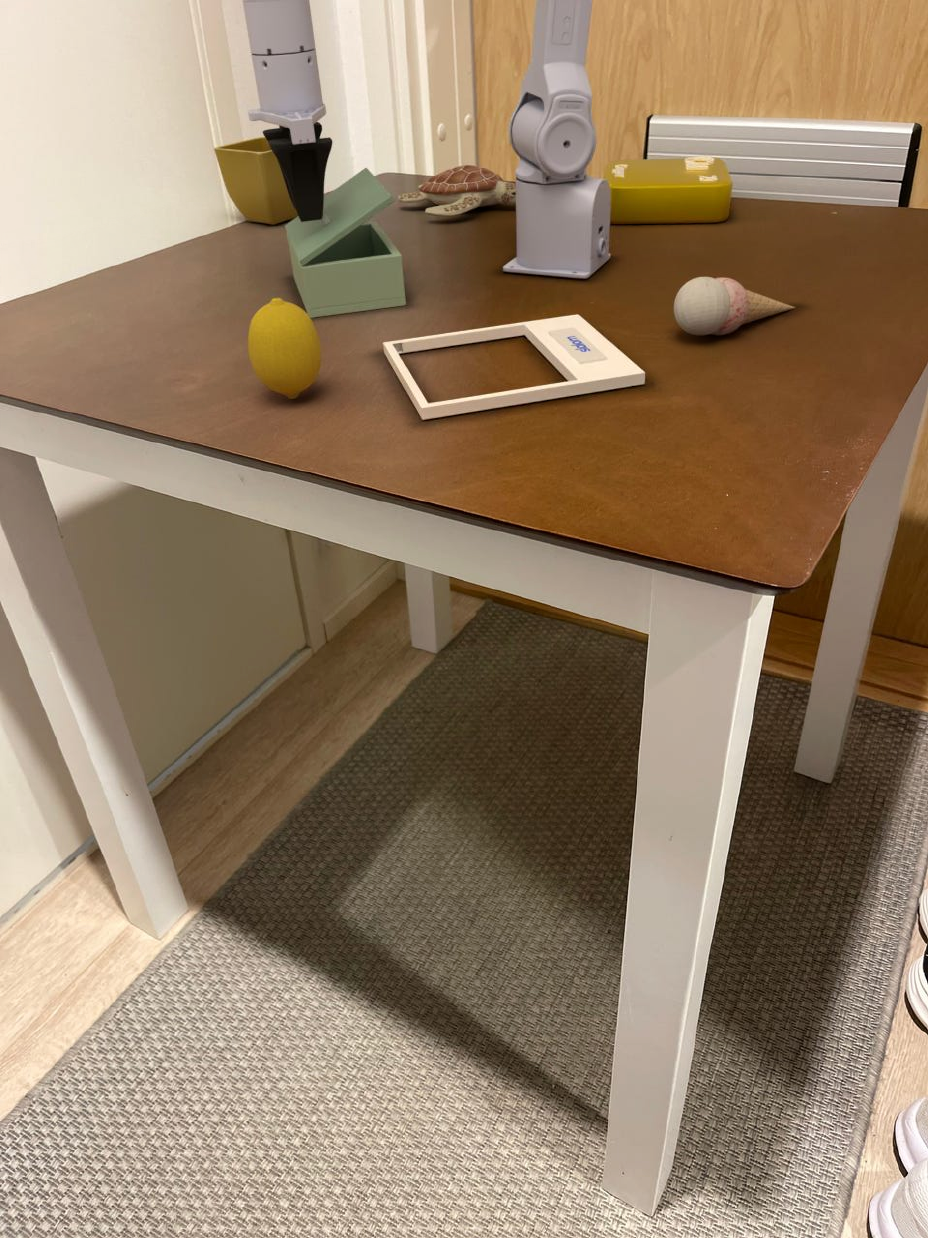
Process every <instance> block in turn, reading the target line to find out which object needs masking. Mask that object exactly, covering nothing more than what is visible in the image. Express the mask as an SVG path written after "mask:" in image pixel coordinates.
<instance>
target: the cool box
mask: <svg viewBox="0 0 928 1238" xmlns="http://www.w3.org/2000/svg"><path fill="white" fill-rule="evenodd" d="M286 237H287V238H286V239H287V244H288V251H289V256H290V263H291V270H292V276H293V280H294V282H295V285H296V288H297V290H298V293H299V296H300V298H301V300H302V303H303V305H304V308H305V312H306V313H307V314H308V316H309V317H310V318H311V319H314V318H321V317H328V316H336V315H343V314H351V313H357V312H366V311H372V310H382V309H388V308H395V307H396V308H397V307H403V306H407V300H406V299H407V298H406V289H405V278H404V265H403V256H402V255H403V254H402V253H400V251H399V250H398V249H397V247H396V246H395V245H394V243H393V242H392V240H391V239H390V237H388V234H386V233H385V232H384V230H383V229H382V228H381V226H380V225H379V224H378V222H377V221H371V222H370V221H369V222H364V223H363V224H362V225H360V226H359V227H357V228H356V229H355V230H353V231H352V232H350V233H349V234H348V235H346V236H345V237H343V238H342V239H340V240H339V241H338V242H336V243H335V244H333V245H332V246H331V247H329V248H328V249H326V250H325V251H324V252H322V253H321V254H319V255H318V256H316V257H315V258H314V259H312V260H311V261H309V262H308V263H307V264H305V265H304V266H302V264H301V263H300V261H299V259H298V257H297V254H296V252H295V249H294V247H293V245H292V242H291V240H290V238H289V235H288V233H287V232H286Z"/></svg>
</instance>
